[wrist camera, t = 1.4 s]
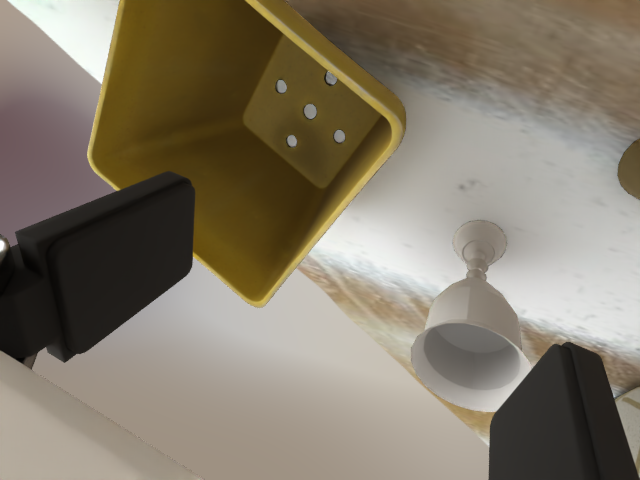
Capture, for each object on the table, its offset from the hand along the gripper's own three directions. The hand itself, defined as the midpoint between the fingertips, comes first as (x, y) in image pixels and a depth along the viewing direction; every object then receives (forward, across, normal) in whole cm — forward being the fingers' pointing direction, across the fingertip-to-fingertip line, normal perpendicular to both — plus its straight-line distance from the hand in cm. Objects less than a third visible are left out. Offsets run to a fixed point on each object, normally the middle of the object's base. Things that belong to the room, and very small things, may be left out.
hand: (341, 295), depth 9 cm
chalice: (+30, -7, +11) cm, 33 cm away
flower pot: (+30, +14, +4) cm, 33 cm away
